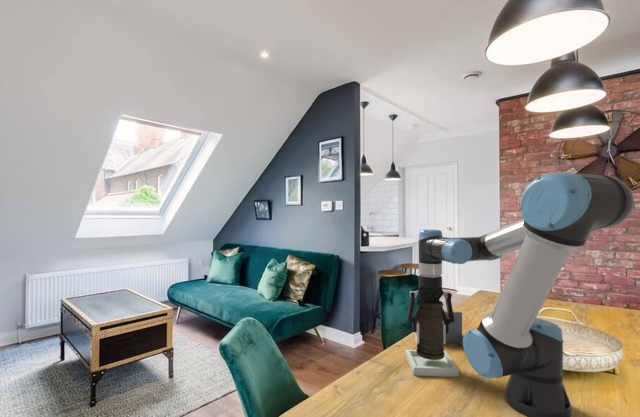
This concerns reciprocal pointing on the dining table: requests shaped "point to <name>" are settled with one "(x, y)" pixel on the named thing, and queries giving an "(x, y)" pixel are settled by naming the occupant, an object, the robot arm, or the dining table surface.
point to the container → (430, 331)
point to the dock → (455, 329)
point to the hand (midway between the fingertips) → (430, 341)
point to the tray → (431, 365)
